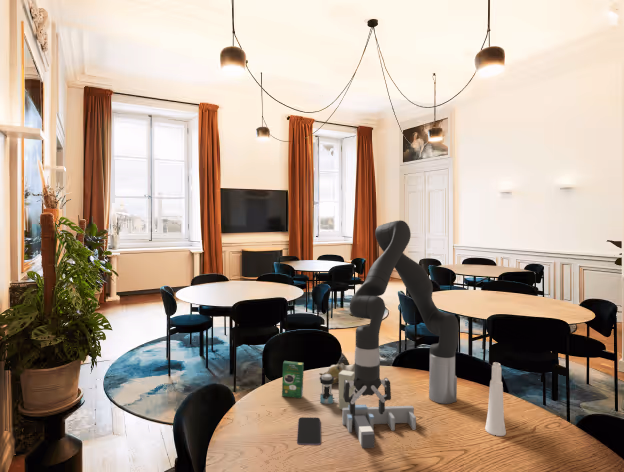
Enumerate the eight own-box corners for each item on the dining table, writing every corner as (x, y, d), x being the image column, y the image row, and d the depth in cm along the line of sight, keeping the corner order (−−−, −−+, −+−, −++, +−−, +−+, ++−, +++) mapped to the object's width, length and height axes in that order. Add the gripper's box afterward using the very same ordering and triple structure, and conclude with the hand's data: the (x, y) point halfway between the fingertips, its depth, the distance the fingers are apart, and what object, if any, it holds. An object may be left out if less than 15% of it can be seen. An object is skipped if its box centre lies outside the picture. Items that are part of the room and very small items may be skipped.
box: (355, 407, 136) (356, 371, 135) (351, 412, 132) (352, 375, 131) (341, 404, 138) (342, 369, 138) (337, 409, 134) (338, 373, 134)
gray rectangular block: (353, 427, 122) (353, 414, 122) (364, 426, 122) (364, 414, 122) (362, 448, 110) (362, 434, 110) (374, 447, 110) (374, 433, 110)
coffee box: (303, 395, 144) (304, 361, 144) (302, 398, 142) (302, 364, 141) (283, 393, 146) (284, 360, 146) (281, 396, 143) (282, 362, 143)
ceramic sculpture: (358, 364, 154) (323, 368, 152) (359, 385, 154) (324, 389, 152) (351, 356, 165) (318, 360, 162) (352, 376, 165) (319, 379, 162)
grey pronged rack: (411, 420, 127) (412, 403, 127) (418, 429, 121) (419, 411, 120) (342, 422, 124) (342, 405, 124) (345, 432, 118) (345, 414, 118)
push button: (337, 399, 142) (337, 373, 141) (337, 405, 136) (337, 378, 136) (319, 398, 142) (319, 372, 142) (319, 405, 137) (319, 378, 136)
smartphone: (296, 443, 111) (298, 417, 126) (296, 447, 111) (298, 420, 126) (321, 444, 111) (320, 417, 126) (321, 447, 111) (320, 420, 126)
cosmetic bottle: (507, 438, 116) (508, 367, 116) (485, 434, 118) (487, 365, 118) (504, 428, 122) (505, 361, 122) (484, 425, 124) (485, 359, 124)
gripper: (386, 356, 117) (386, 407, 118) (341, 357, 116) (341, 409, 116) (393, 364, 110) (393, 419, 110) (346, 366, 108) (346, 421, 109)
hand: (366, 414), depth 113 cm, fingers open, 8 cm apart
